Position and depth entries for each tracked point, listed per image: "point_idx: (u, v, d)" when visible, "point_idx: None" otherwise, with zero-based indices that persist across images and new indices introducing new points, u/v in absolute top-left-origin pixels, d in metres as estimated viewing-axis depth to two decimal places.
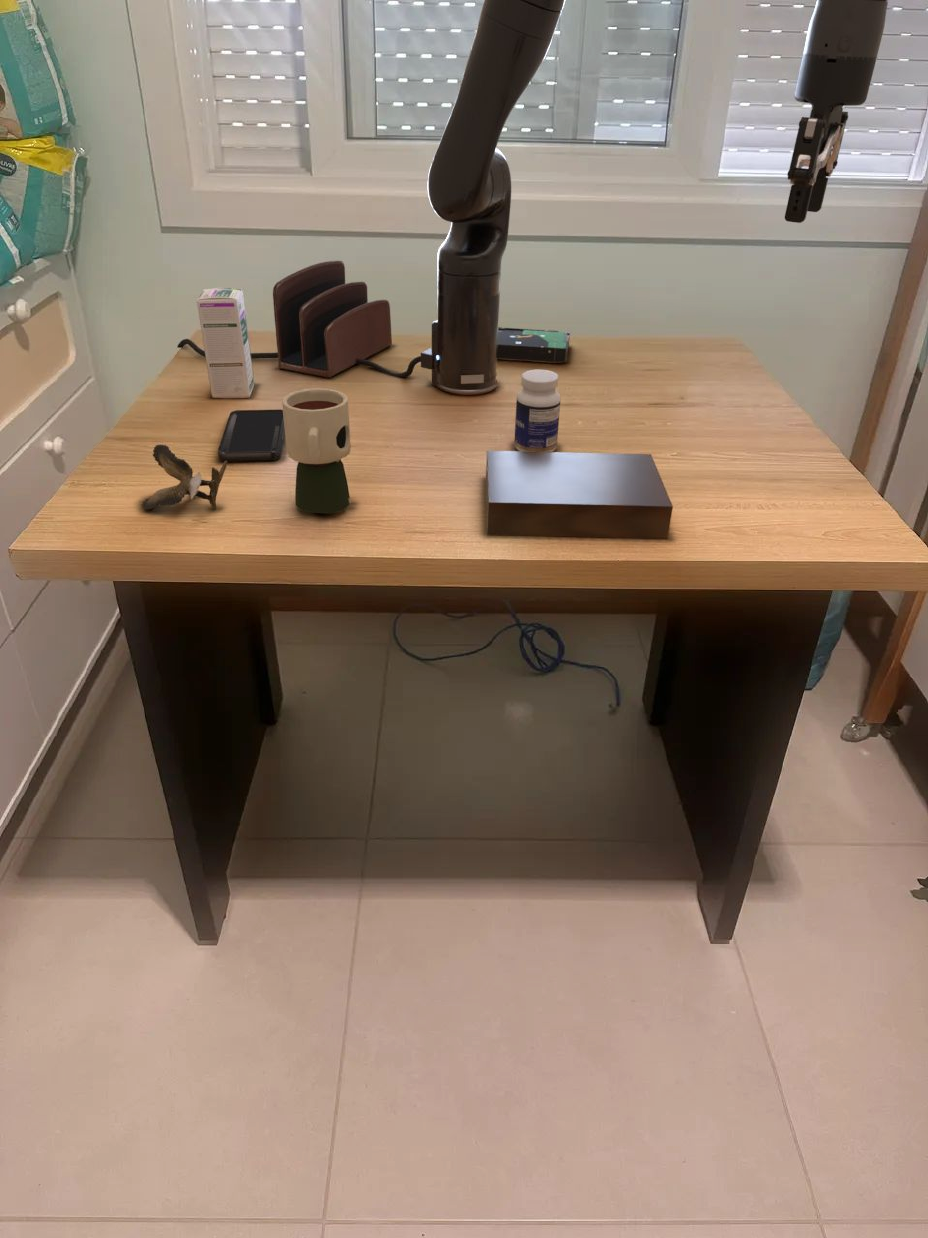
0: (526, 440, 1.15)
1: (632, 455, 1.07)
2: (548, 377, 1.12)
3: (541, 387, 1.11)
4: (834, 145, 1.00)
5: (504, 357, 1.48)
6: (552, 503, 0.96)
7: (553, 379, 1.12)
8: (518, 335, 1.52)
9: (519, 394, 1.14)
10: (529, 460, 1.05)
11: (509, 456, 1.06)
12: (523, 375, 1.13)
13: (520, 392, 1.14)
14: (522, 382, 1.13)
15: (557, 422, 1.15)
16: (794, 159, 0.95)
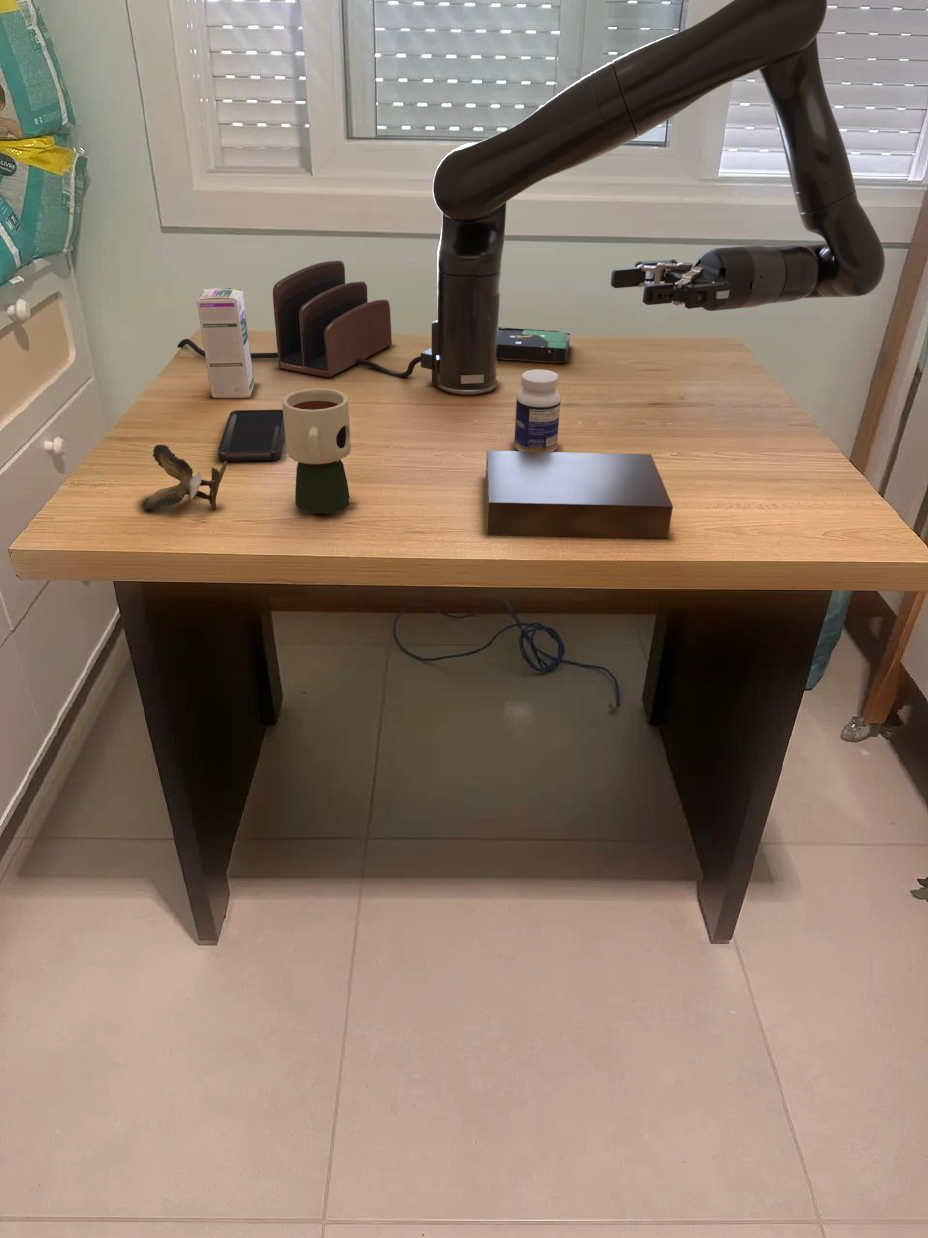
0: (526, 440, 1.15)
1: (632, 455, 1.07)
2: (548, 377, 1.12)
3: (541, 387, 1.11)
4: None
5: (504, 357, 1.48)
6: (552, 503, 0.96)
7: (553, 379, 1.12)
8: (518, 335, 1.52)
9: (519, 394, 1.14)
10: (529, 460, 1.05)
11: (509, 456, 1.06)
12: (523, 375, 1.13)
13: (520, 392, 1.14)
14: (522, 382, 1.13)
15: (557, 422, 1.15)
16: (704, 289, 1.06)
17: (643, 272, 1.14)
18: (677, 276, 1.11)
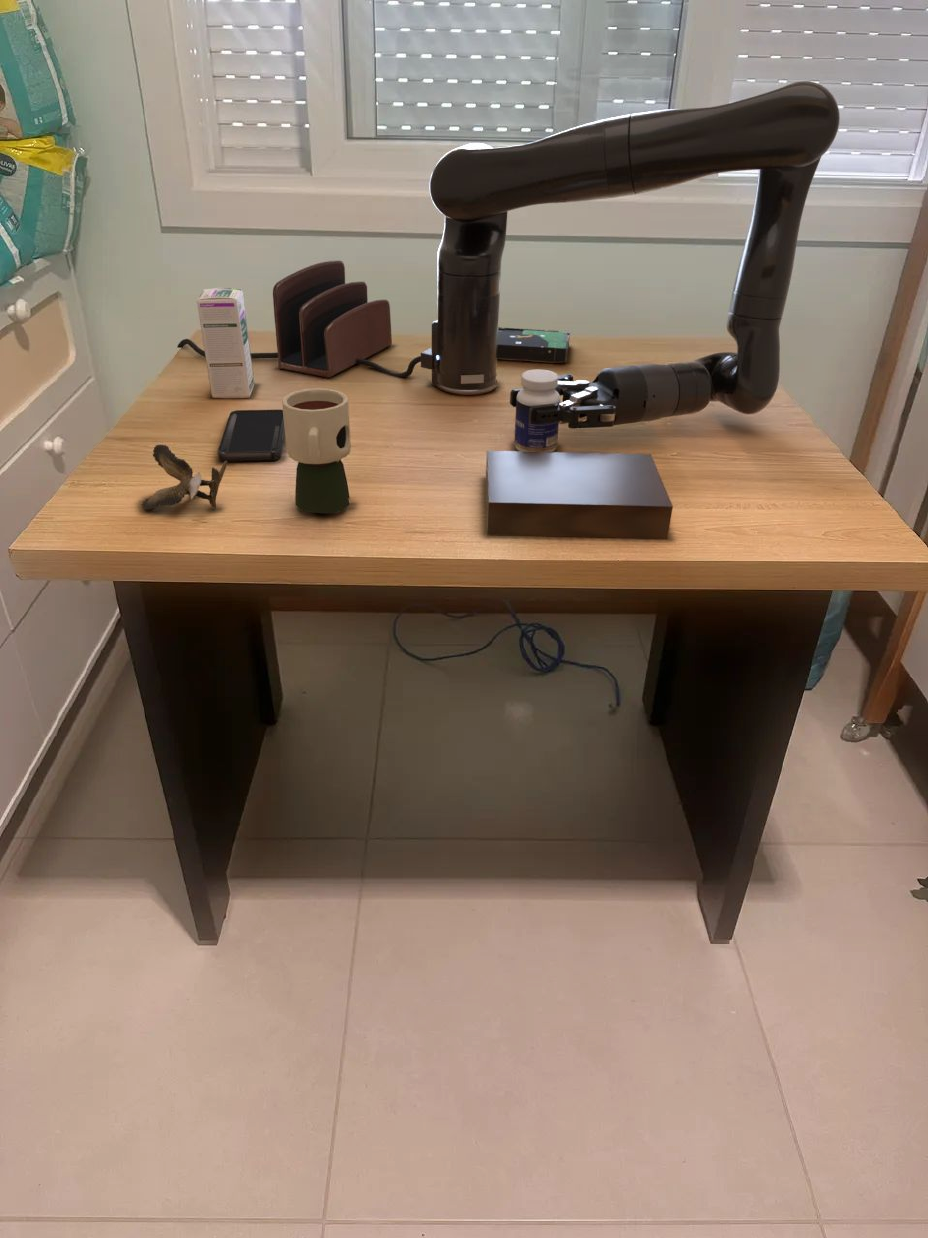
0: (526, 440, 1.15)
1: (632, 455, 1.07)
2: (548, 377, 1.12)
3: (541, 387, 1.11)
4: None
5: (504, 357, 1.48)
6: (552, 503, 0.96)
7: (553, 379, 1.12)
8: (518, 335, 1.52)
9: (518, 394, 1.14)
10: (529, 460, 1.05)
11: (509, 456, 1.06)
12: (523, 375, 1.13)
13: (520, 392, 1.14)
14: (522, 382, 1.13)
15: (557, 422, 1.15)
16: (586, 412, 1.11)
17: None
18: None
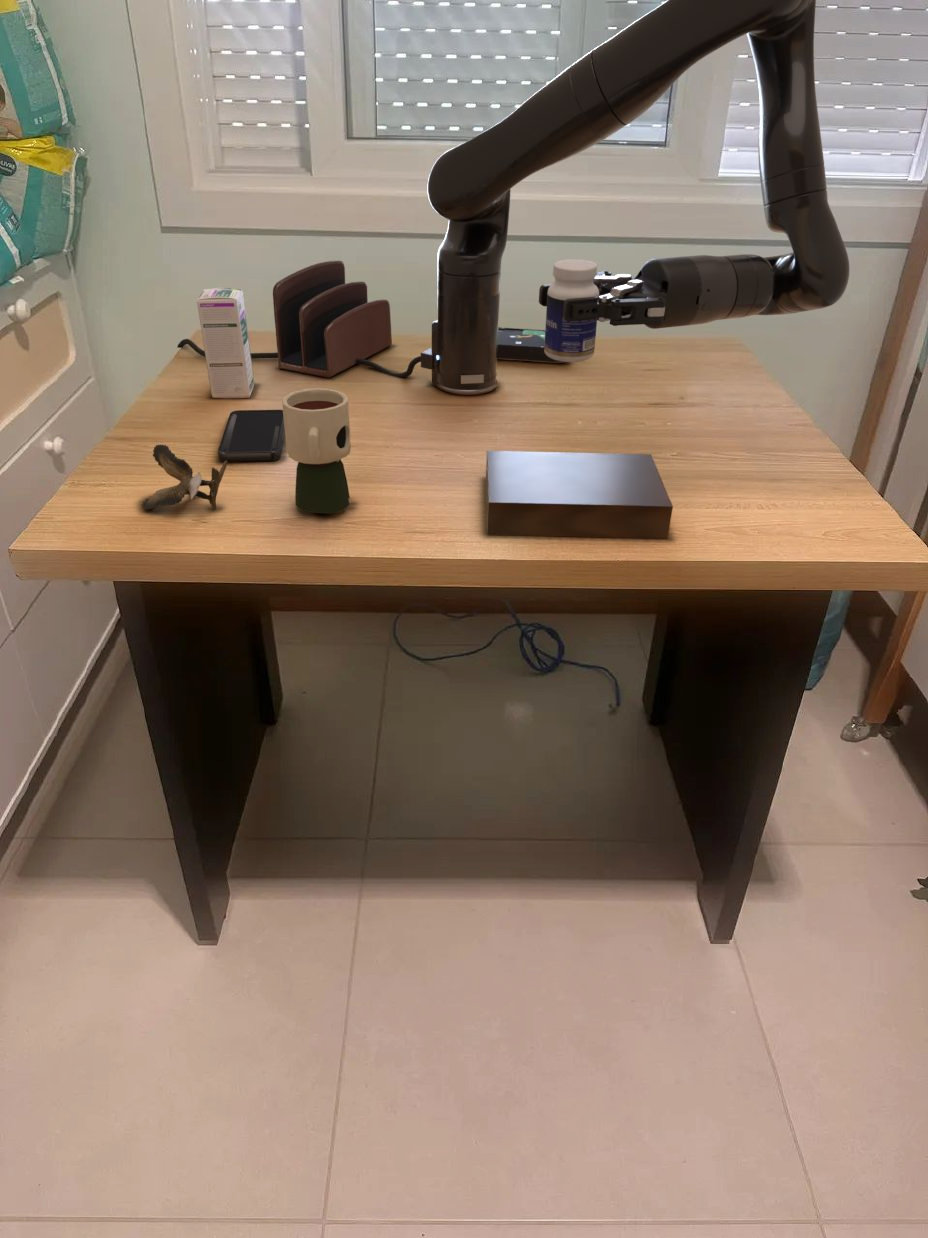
0: (559, 343, 0.98)
1: (632, 455, 1.07)
2: (586, 266, 0.95)
3: (577, 277, 0.94)
4: None
5: (504, 357, 1.48)
6: (552, 503, 0.96)
7: (591, 267, 0.94)
8: (518, 335, 1.52)
9: (550, 287, 0.97)
10: (529, 460, 1.05)
11: (509, 456, 1.06)
12: (555, 264, 0.95)
13: (552, 285, 0.97)
14: (554, 272, 0.95)
15: (595, 321, 0.98)
16: (631, 304, 0.93)
17: None
18: None
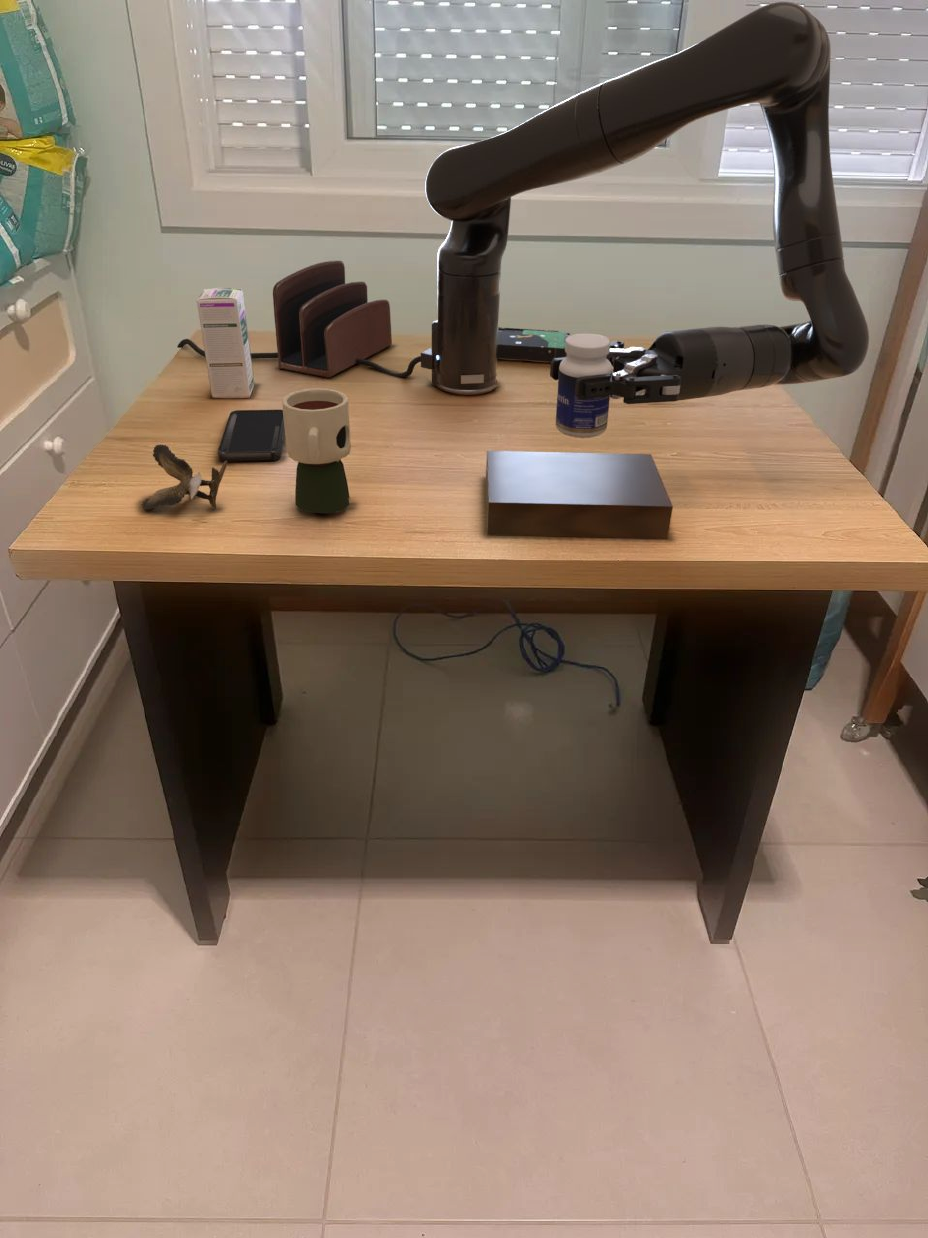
0: (571, 420, 0.95)
1: (632, 455, 1.07)
2: (599, 342, 0.92)
3: (590, 354, 0.91)
4: None
5: (504, 357, 1.48)
6: (552, 503, 0.96)
7: (604, 344, 0.92)
8: (518, 335, 1.52)
9: (562, 363, 0.94)
10: (529, 460, 1.05)
11: (509, 456, 1.06)
12: (567, 340, 0.93)
13: (563, 361, 0.94)
14: (566, 348, 0.93)
15: (608, 397, 0.95)
16: (646, 383, 0.91)
17: None
18: None
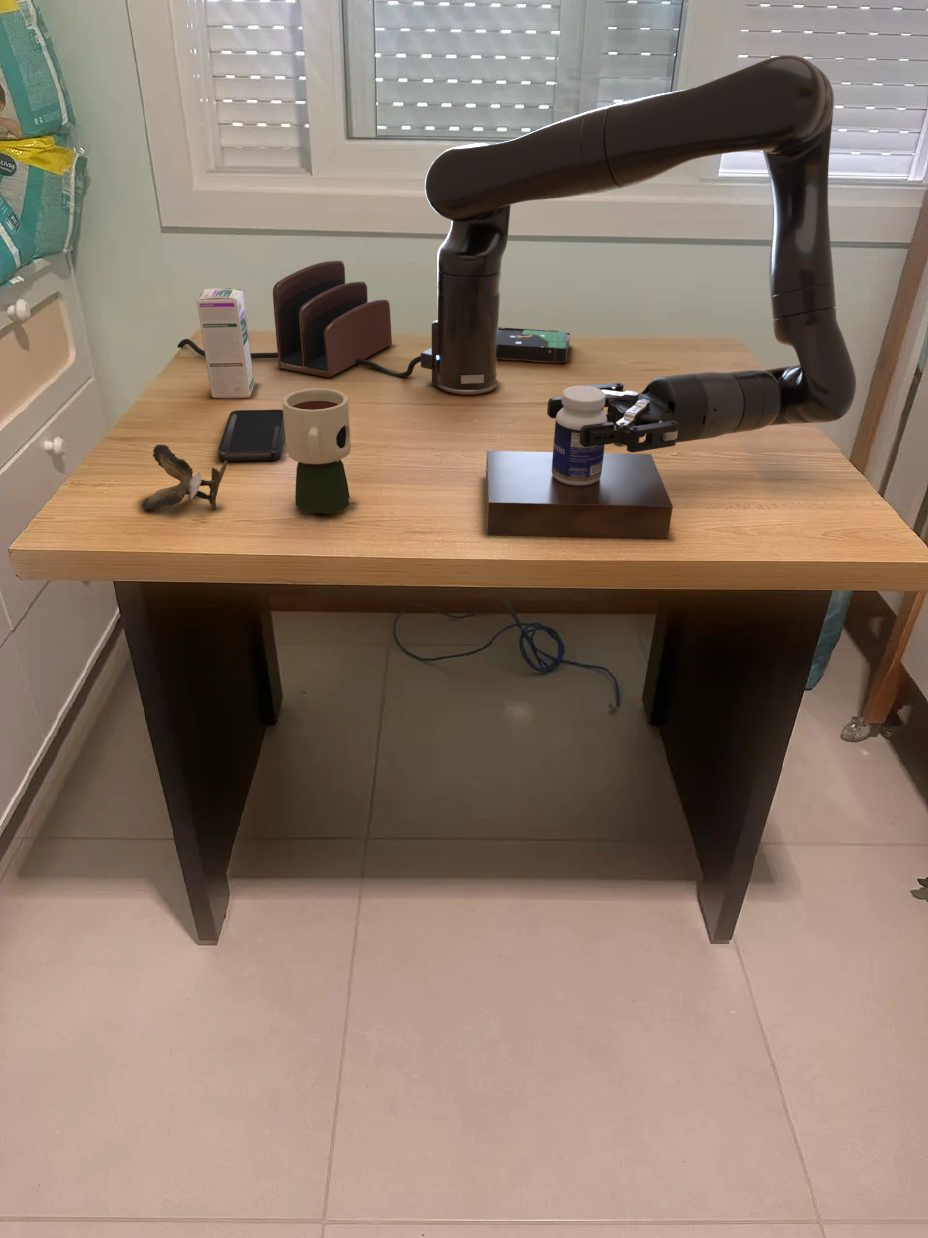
0: (566, 468, 0.98)
1: (632, 455, 1.07)
2: (594, 395, 0.95)
3: (586, 407, 0.95)
4: None
5: (504, 357, 1.48)
6: (552, 503, 0.96)
7: (600, 398, 0.95)
8: (518, 335, 1.52)
9: (558, 414, 0.97)
10: (529, 460, 1.05)
11: (509, 456, 1.06)
12: (564, 393, 0.96)
13: (560, 412, 0.97)
14: (563, 401, 0.96)
15: (603, 447, 0.98)
16: (649, 431, 0.93)
17: None
18: (620, 410, 0.98)
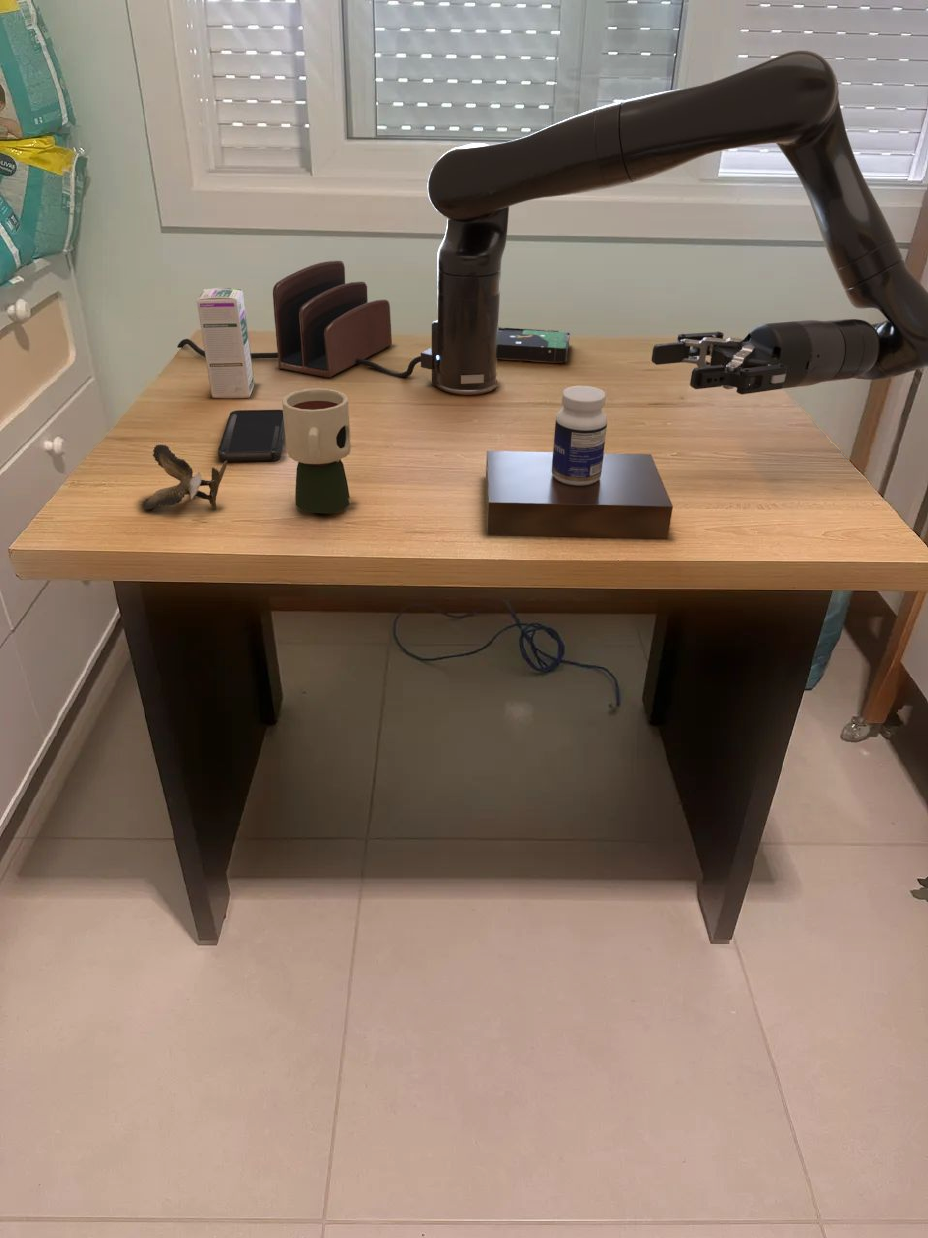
0: (566, 468, 0.98)
1: (632, 455, 1.07)
2: (594, 395, 0.95)
3: (586, 407, 0.95)
4: None
5: (504, 357, 1.48)
6: (552, 503, 0.96)
7: (600, 397, 0.95)
8: (518, 335, 1.52)
9: (558, 414, 0.97)
10: (529, 460, 1.05)
11: (509, 456, 1.06)
12: (564, 393, 0.96)
13: (560, 412, 0.97)
14: (563, 401, 0.96)
15: (603, 447, 0.98)
16: (759, 373, 0.95)
17: (687, 347, 1.04)
18: (727, 355, 1.00)
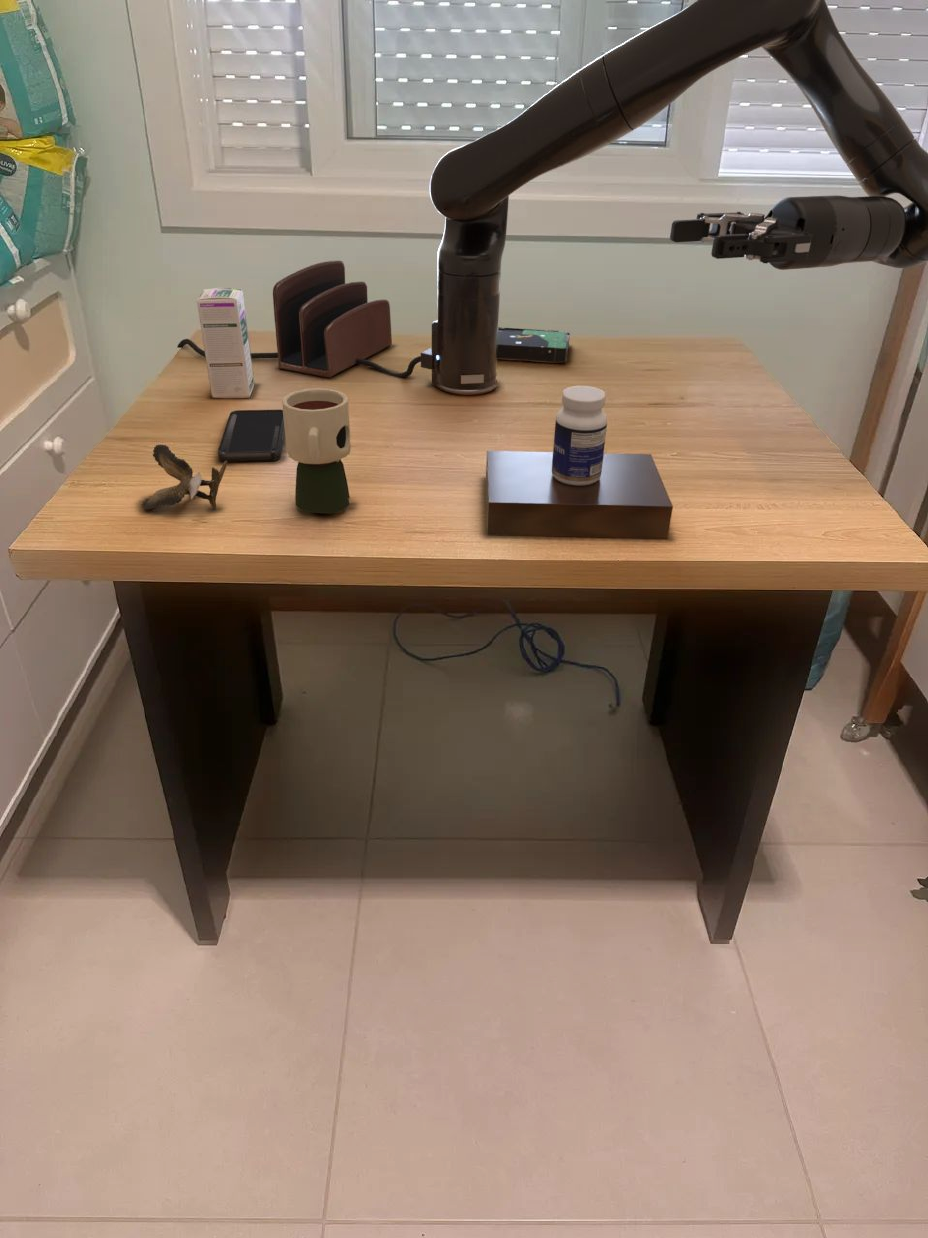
0: (566, 468, 0.98)
1: (632, 455, 1.07)
2: (594, 395, 0.95)
3: (586, 407, 0.95)
4: None
5: (504, 357, 1.48)
6: (552, 503, 0.96)
7: (600, 397, 0.95)
8: (518, 335, 1.52)
9: (558, 414, 0.97)
10: (529, 460, 1.05)
11: (509, 456, 1.06)
12: (564, 393, 0.96)
13: (560, 412, 0.97)
14: (563, 401, 0.96)
15: (603, 447, 0.98)
16: (784, 240, 0.92)
17: (707, 224, 1.00)
18: (748, 228, 0.97)
